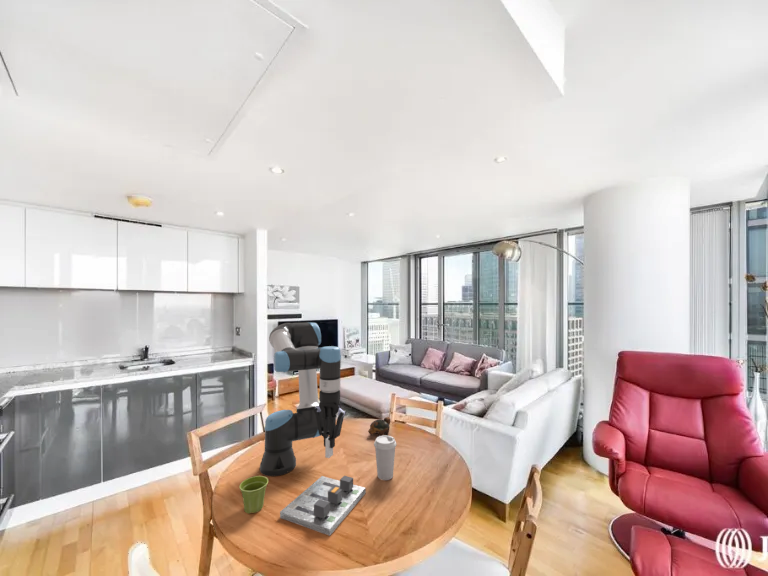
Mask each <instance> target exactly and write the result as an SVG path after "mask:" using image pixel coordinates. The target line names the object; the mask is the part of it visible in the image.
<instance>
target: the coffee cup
mask: <svg viewBox="0 0 768 576" xmlns="http://www.w3.org/2000/svg"><path fill="white" fill-rule="evenodd" d="M373 445H374V446H373V447H374V448H375V460H376V474H377V478H378V479H379V480H381V481H389V480H391V479H393V477H394V469H395V468H394V467H395V466H394V465H395V454H396V446H397V442H396V440H395V437H393V436H391V435H382V436H380V435H378V436H377V437H376V438H375V440H374V443H373Z"/></svg>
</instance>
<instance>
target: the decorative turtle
mask: <svg viewBox="0 0 768 576" xmlns="http://www.w3.org/2000/svg"><path fill="white" fill-rule="evenodd" d="M390 425H391V418H390V417H388V416H387V417H384V419H382V418H379V419H375V420H374V421H372V422H371V423H370V425H369V429H368V431H367V432H368V434H369V435H371V436H372V435H375V434H378V436H384V434H385V435H388V434H389V432H390Z"/></svg>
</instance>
